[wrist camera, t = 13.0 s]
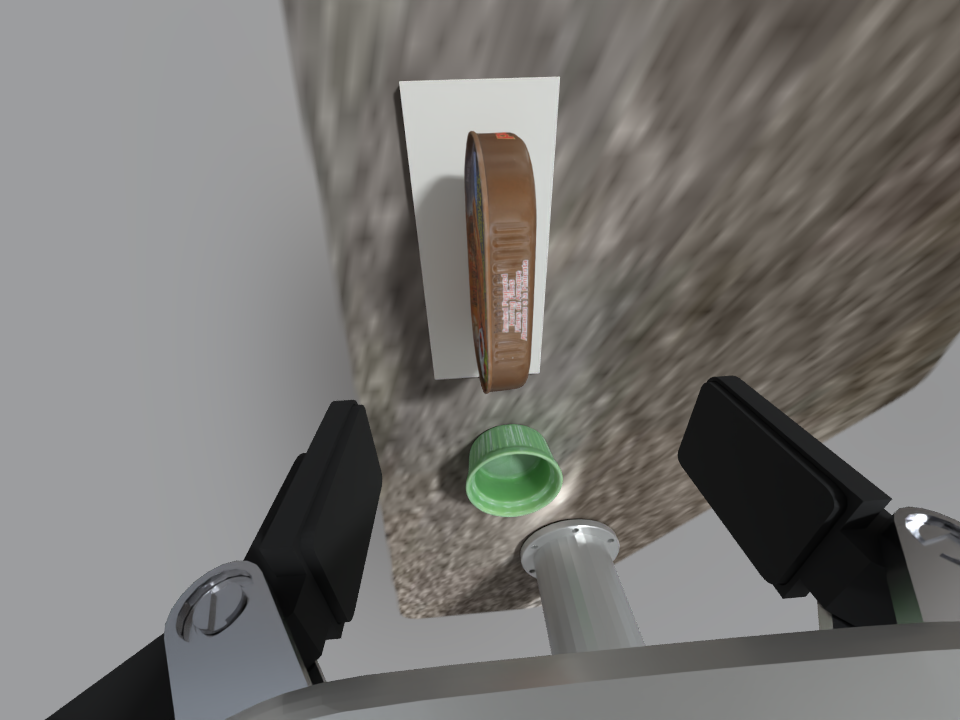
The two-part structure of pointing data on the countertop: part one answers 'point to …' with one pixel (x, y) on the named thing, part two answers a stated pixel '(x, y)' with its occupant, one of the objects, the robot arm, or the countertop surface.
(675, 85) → the countertop surface
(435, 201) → the mat
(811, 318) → the countertop surface
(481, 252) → the tin
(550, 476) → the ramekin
